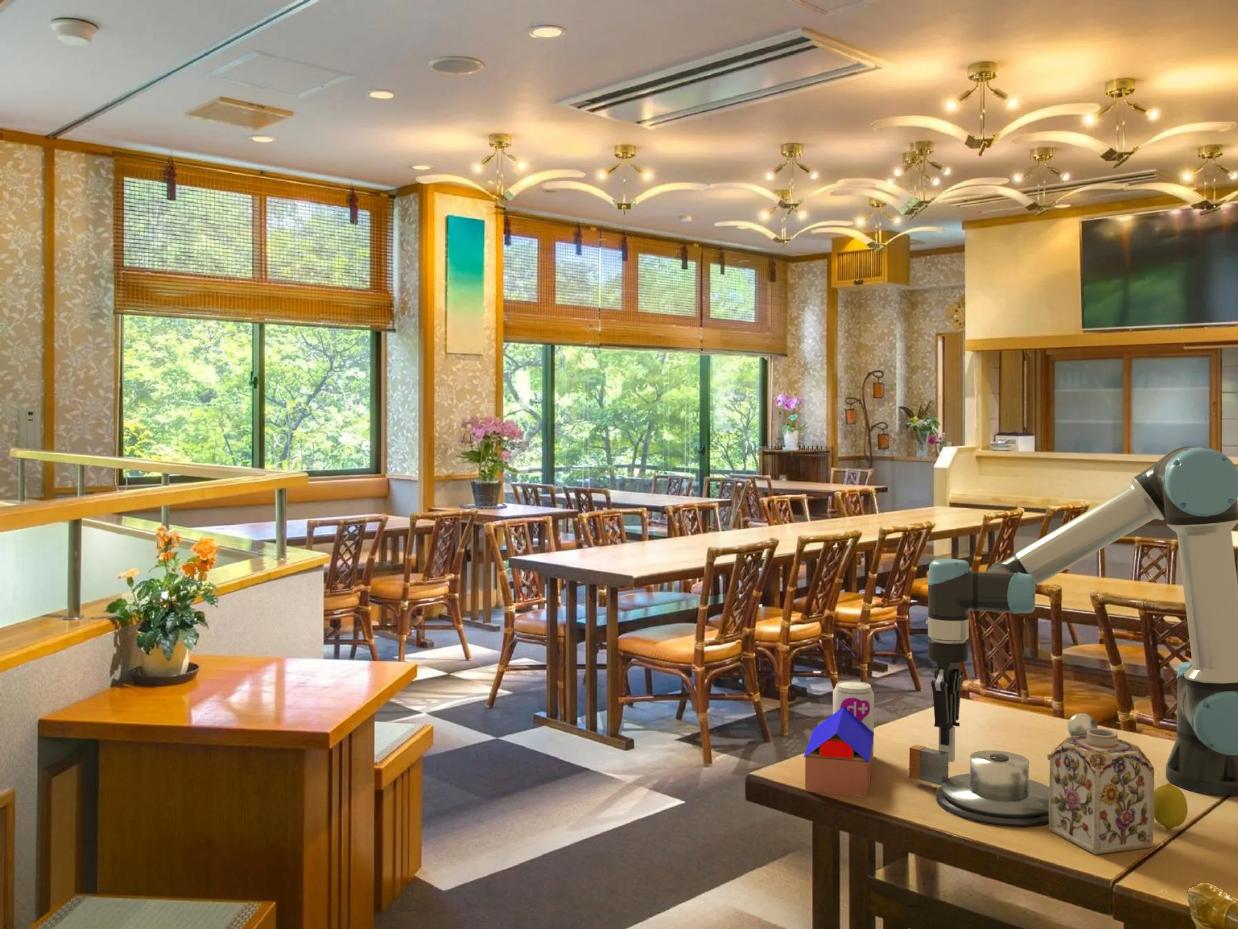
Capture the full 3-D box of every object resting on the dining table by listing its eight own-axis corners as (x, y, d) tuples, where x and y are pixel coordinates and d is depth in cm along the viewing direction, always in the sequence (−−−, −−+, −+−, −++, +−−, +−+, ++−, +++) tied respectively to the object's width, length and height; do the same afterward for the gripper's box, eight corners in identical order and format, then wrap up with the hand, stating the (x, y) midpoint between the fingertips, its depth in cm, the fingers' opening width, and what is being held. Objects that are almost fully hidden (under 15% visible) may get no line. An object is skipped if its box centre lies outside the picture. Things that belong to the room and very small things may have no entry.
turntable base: (1084, 804, 195) (1084, 798, 195) (1034, 837, 179) (1034, 831, 179) (969, 776, 210) (969, 771, 210) (913, 805, 194) (913, 799, 194)
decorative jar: (1155, 848, 174) (1157, 738, 174) (1095, 857, 171) (1097, 745, 170) (1103, 822, 186) (1104, 719, 185) (1045, 830, 182) (1047, 724, 182)
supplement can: (873, 764, 217) (874, 690, 217) (832, 761, 219) (832, 688, 219) (873, 752, 225) (873, 681, 225) (832, 750, 227) (833, 679, 227)
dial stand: (1091, 797, 198) (1092, 711, 197) (1099, 805, 194) (1100, 717, 193) (1043, 796, 198) (1045, 710, 198) (1051, 804, 194) (1052, 716, 194)
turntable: (1076, 796, 195) (1077, 765, 194) (1031, 826, 180) (1031, 792, 180) (937, 764, 213) (937, 735, 213) (885, 789, 199) (886, 757, 199)
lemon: (1143, 824, 185) (1144, 778, 184) (1174, 823, 185) (1175, 777, 185) (1162, 837, 179) (1163, 789, 179) (1194, 835, 180) (1195, 788, 179)
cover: (1037, 791, 194) (1038, 756, 194) (1014, 805, 187) (1015, 769, 187) (984, 779, 201) (984, 745, 201) (960, 792, 194) (960, 757, 193)
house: (873, 765, 217) (874, 708, 217) (868, 798, 198) (869, 736, 198) (813, 760, 221) (814, 704, 220) (803, 792, 202) (803, 731, 201)
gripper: (939, 632, 216) (937, 748, 217) (917, 643, 205) (916, 765, 206) (977, 636, 212) (975, 754, 213) (957, 647, 201) (956, 772, 202)
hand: (946, 760), depth 209 cm, fingers closed
